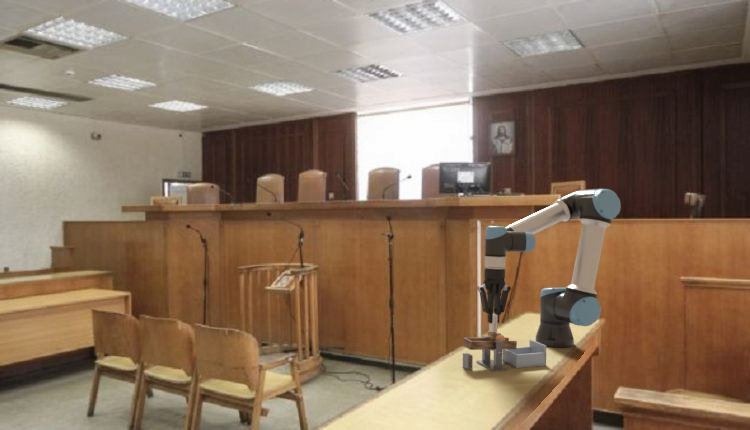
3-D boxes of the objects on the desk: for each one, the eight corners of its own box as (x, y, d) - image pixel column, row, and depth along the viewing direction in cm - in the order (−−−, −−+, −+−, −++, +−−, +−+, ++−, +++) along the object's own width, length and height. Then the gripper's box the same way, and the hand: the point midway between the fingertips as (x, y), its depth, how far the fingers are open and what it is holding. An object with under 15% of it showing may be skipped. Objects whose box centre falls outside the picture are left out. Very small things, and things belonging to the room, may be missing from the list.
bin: (530, 358, 198) (531, 339, 198) (546, 365, 189) (546, 345, 189) (502, 361, 194) (502, 341, 194) (516, 368, 186) (516, 347, 185)
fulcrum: (491, 361, 194) (491, 334, 194) (507, 369, 183) (508, 342, 183) (458, 363, 190) (458, 337, 190) (473, 372, 179) (473, 344, 179)
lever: (495, 340, 200) (496, 331, 200) (516, 349, 187) (516, 339, 187) (452, 340, 195) (452, 331, 195) (470, 349, 182) (471, 340, 182)
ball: (503, 340, 191) (500, 332, 190) (508, 342, 188) (505, 334, 187) (495, 345, 190) (492, 336, 190) (500, 347, 187) (497, 338, 186)
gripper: (505, 266, 203) (503, 328, 204) (473, 266, 199) (472, 330, 199) (516, 268, 196) (514, 333, 196) (483, 269, 192) (482, 334, 192)
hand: (493, 331), depth 198 cm, fingers closed
